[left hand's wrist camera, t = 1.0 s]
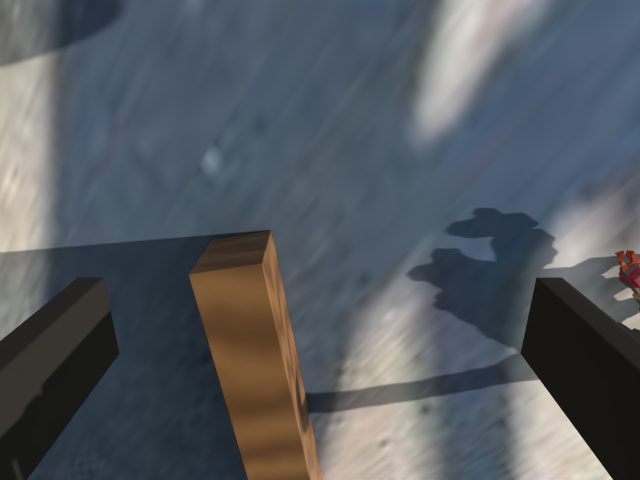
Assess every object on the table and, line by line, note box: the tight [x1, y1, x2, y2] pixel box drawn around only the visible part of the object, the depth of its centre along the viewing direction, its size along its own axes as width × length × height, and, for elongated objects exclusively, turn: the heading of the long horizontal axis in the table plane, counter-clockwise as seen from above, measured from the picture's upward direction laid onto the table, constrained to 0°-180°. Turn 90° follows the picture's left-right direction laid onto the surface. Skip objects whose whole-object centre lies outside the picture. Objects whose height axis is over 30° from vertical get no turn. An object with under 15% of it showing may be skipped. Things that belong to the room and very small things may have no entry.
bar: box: [189, 230, 323, 480], centre depth 41 cm, size 34×6×8 cm, turn 9°
